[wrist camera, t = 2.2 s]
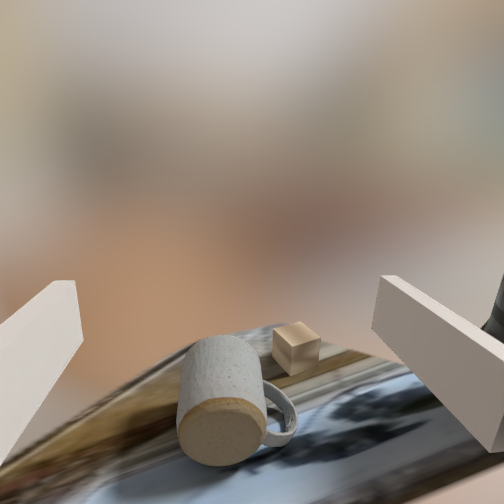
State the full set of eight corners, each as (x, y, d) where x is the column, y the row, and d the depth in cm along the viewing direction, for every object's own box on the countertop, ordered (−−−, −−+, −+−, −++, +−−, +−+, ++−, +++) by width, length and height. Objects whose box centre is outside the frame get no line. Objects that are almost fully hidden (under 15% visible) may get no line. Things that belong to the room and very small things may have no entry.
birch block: (297, 348, 40) (300, 321, 39) (317, 366, 37) (320, 337, 36) (271, 356, 38) (273, 328, 37) (289, 376, 35) (292, 346, 34)
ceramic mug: (174, 480, 24) (171, 399, 21) (183, 399, 31) (181, 333, 29) (308, 467, 25) (319, 390, 23) (284, 392, 33) (291, 329, 30)
